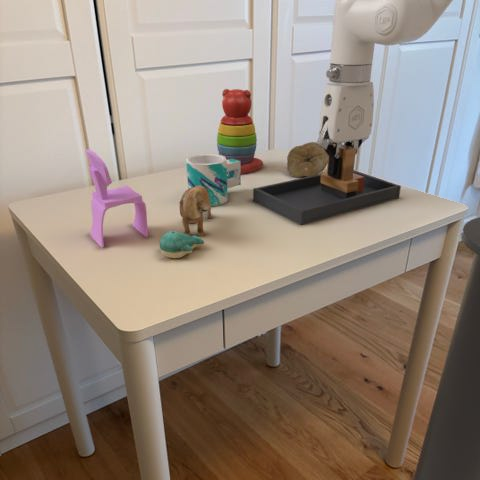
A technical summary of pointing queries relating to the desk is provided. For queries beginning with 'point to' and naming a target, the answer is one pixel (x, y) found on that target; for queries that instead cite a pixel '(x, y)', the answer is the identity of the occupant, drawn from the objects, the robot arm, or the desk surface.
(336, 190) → the brush
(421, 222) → the desk surface
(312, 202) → the tray
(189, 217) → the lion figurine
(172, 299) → the desk surface
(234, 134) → the stacking bear
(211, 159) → the mug
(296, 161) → the fossil
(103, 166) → the toy chair
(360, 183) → the reddish brown block
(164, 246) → the whale figurine
